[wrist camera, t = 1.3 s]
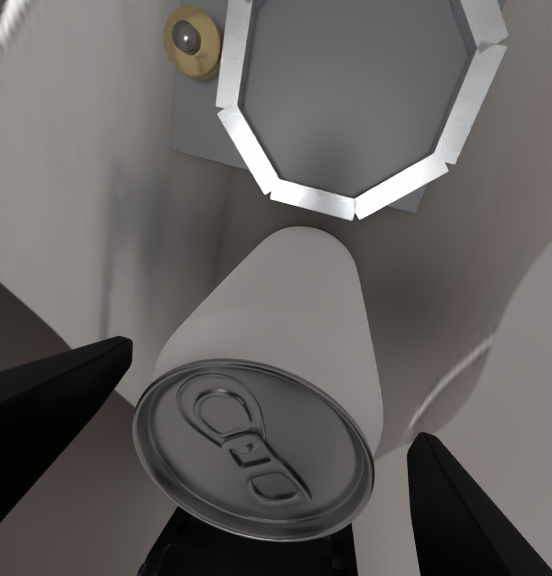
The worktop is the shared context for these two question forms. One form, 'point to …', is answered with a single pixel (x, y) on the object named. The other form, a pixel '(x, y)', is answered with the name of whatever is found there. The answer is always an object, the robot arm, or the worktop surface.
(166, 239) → the worktop surface
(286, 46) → the carrier plate
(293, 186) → the socket
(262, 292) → the can
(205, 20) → the brass round knob
